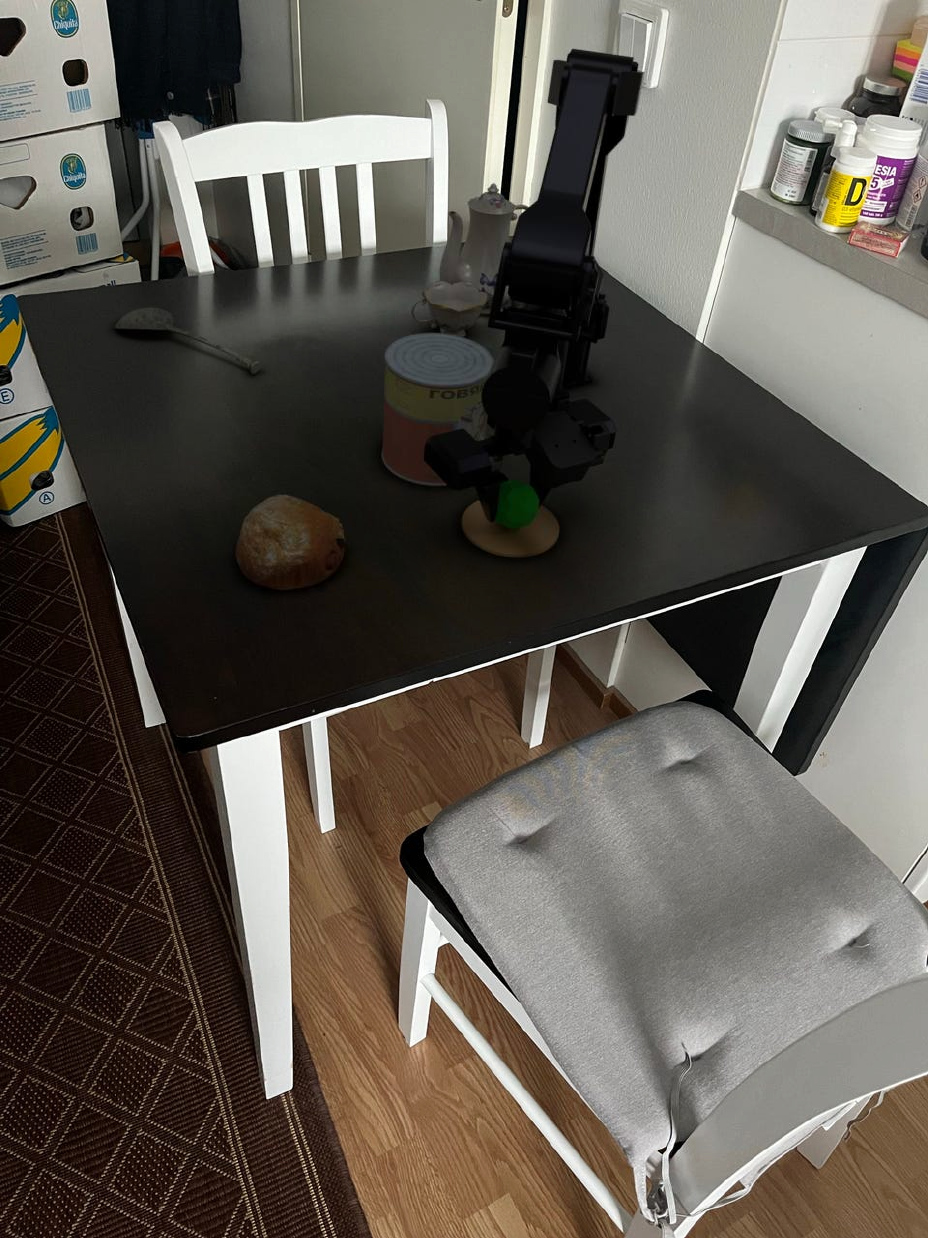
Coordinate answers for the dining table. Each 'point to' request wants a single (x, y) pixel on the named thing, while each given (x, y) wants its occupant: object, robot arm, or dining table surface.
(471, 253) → the chinaware
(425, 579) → the dining table surface
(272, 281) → the dining table surface
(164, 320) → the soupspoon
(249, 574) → the bread roll
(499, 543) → the coaster
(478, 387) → the canned food
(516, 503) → the polyhedron
